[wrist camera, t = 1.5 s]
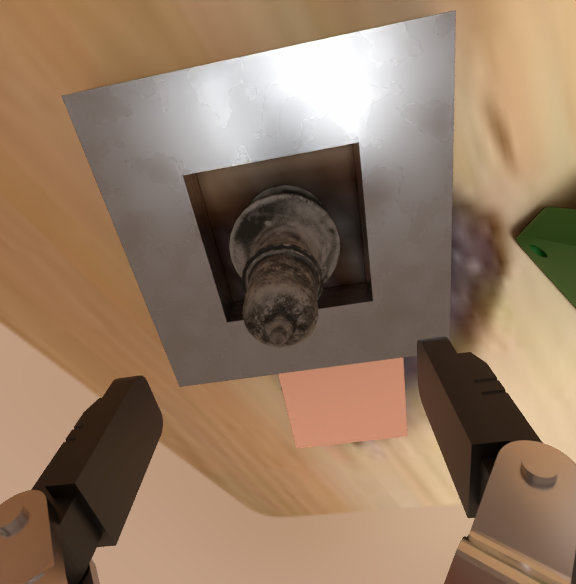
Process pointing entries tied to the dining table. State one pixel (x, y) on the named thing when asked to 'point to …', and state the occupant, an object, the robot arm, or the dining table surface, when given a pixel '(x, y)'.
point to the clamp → (553, 247)
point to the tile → (346, 403)
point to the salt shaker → (283, 263)
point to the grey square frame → (278, 143)
